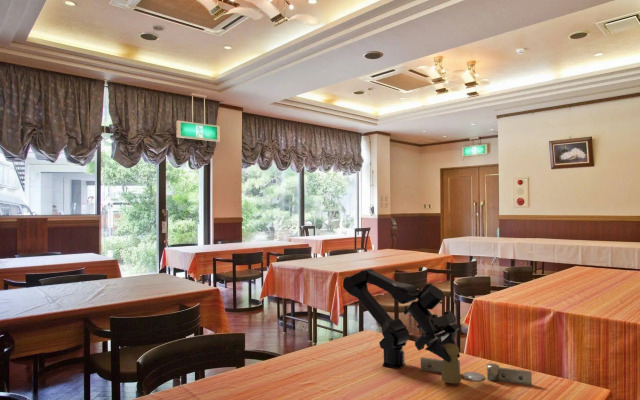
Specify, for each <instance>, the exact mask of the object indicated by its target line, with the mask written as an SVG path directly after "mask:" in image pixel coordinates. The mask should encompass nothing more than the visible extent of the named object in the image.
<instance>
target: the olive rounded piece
mask: <svg viewBox="0 0 640 400" xmlns="http://www.w3.org/2000/svg"><path fill="white" fill-rule="evenodd" d="M455 344H456V343H455ZM455 344H452V343H446V344H444V345H442V346H443V347H444V349H445V350H446V352H447V353H448V355H449V357H450V358H451V361H450V362H447V361H446V360H444V359H442V360H443V367H442V373H441V378H440V379H441V380H442V381H443V382H445V383H448V384H458V383H461V382H462V377H461V376H462V375H461V369H460V370H459V363H458V360H459V358H458V357H457V355H458V354H460V348H459V347H458V346H459V345H457V344H456V345H455Z"/></svg>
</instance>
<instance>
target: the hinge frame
mask: <svg viewBox="0 0 640 400" xmlns="http://www.w3.org/2000/svg"><path fill="white" fill-rule="evenodd" d="M458 363H459V370H460V371H461V361H460V359H458ZM442 367H443V359H436V358H429V357H420V371H424V372H431V373H439V374H442ZM486 372H487V373H486V376H487V377H485V375H483V374H482V373H479V372H475V371H467V372H463V374H462V377H463V378H464V380H468V381H471V382H481V381H484V380H485V378H487V381H489V382H492V383H499V382H502V383H509V384H517V385H523V386H531V387H532V385H533V383H532V381H533V379H532V371H530V370H522V369H518V368H517V369H514V368H508V367H500V366H499V364H496V363H487V364H486Z"/></svg>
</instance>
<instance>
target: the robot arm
mask: <svg viewBox="0 0 640 400" xmlns="http://www.w3.org/2000/svg"><path fill="white" fill-rule="evenodd" d="M368 283H370V284H372V285H373V286H376V287H377V288H380V289H381V290H383V291H385V292H387V293H389V294H390V295H391V297H392V298H393V299H394V300H395V301H397V302H398V303H399V304H400V305H405V304H408V303H410V304H408V305H405V306H404V310H403V314H404V316H405V315H409V314H410V315H411V316H412V318H413V319H414V321H415V322H416V323H417V326H416V328H417V329H418V330H419V329H421V331H422V332H423V333H422V334H421V336H419V337H418V338H417V339H416V340H415V341H414V346H415V347H416V349H417V351H422V350H423V349H424V350H425V351H429V352H430V353H431V354H434V355H435V356H438V357H439V358H441V360H443V359H444V360H446V361H447V362H450V361H451V358H450V357H449V355H448V353H447V352H446V350H445V349H444V347H443V345H444V344H446V343H452V344H455V345H457V343H456V340H455V335H456V333H457V331H459V330H460V327H459V326H458V324H457V323H456V321H455V319H456V315H455V314H454V312H452V311H451V310H449V309H448V310H445V311H443V315H440V316H438V315H437V314H436V313H434V314H432V313H431V310H433V309H435V308H436V307H437V306H438V305H439V304H440V303H441V301H442V300H444V299H445V294H444V292H443V291H442V290H441V289H440V288H438V287H437V286H435V285H433V284H432V283H431V282H429V283H426V284H425V285H424V287H423V288H422V289H418V288H417V287H416V286H415V285H413V284H409V283H407V282H398V281H396V280H393V279H391V278H390V277H387V276H385V275H383V274H382V273H379V272H377V271H375V270H374V269H373V268H367V269H362V270H361V271H359V272H357V273H355V274H353V275H349V276H345V277H344V279H343V283H342V287H343V289H344V290H345V292H347V293H348V294H349V295H351V297H352V296H353V297H355V298H357V299H358V300H359V302H360V303H361V304H362V305H363V307H364V308H365V309H366V311H368V313H370V315H371V317H372V318H373V319H374V321H376V323H377V324H378V326H379V327H380V328H381V333H382V336H383V338H382V339H381V340H380V341H379V342H378V343H379V347H380V349H382V350H383V363H382V364H381V365H382V366H383V367H386V368H394V369H401V368H402V367H403V365H404V364H405V363H406V362H405V360H406V359H405V351H403V349H404V348H403V347H405V346H406V344H407V342H408V340H409V337H410V334H409V333H410V331H409V330H408V329H407V327H408V326H407V325H406V324H404V323H403V322H402V321H403V320H401V319H400V318H398V319H394V318H392V317H391V316H390V314H388V312H387V311H386V310H385V309H384V307H383V306H382V305H381V304H380V303H379V302H378V300H377V299H376V298H375V297H374V296H373V295H372V294H371V292H370V291H369V289H368ZM425 346H426V348H425ZM457 357H458V359H459V358H460V357H461V355H460V353H459V354H458V355H457Z"/></svg>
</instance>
